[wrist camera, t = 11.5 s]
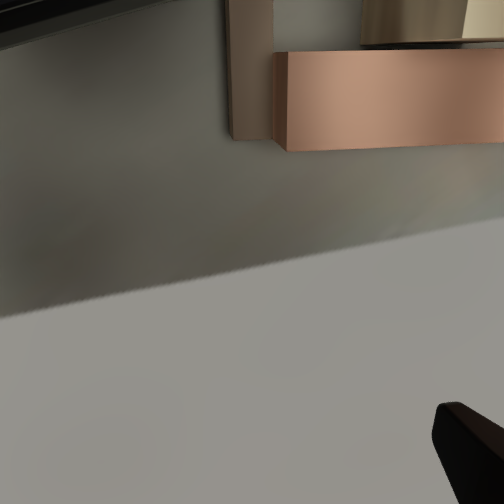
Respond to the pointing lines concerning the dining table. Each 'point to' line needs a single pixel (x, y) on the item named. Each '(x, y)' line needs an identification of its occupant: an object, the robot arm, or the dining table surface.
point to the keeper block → (431, 21)
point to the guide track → (357, 91)
